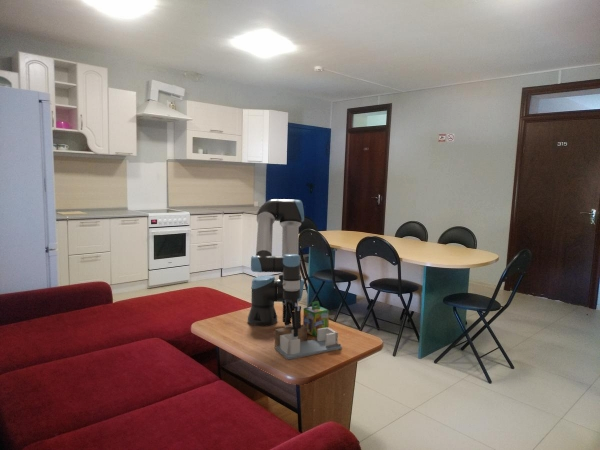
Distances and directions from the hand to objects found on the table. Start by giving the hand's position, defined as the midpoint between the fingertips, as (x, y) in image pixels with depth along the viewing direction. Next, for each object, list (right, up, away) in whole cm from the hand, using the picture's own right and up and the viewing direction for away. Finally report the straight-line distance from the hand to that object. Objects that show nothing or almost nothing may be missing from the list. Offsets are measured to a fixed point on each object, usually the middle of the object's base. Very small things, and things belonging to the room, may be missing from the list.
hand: (291, 341), depth 177 cm
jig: (+8, -2, -5) cm, 9 cm away
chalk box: (+11, 0, +15) cm, 19 cm away
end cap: (+16, 0, -1) cm, 16 cm away
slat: (0, -1, +1) cm, 2 cm away
